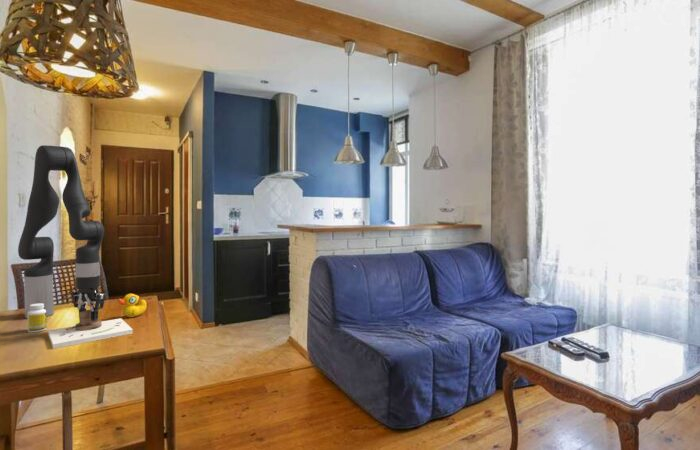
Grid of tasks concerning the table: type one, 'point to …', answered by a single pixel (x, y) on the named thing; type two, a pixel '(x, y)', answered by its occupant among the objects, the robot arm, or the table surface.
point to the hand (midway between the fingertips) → (88, 319)
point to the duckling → (132, 305)
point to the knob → (86, 321)
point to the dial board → (88, 333)
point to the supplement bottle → (37, 318)
